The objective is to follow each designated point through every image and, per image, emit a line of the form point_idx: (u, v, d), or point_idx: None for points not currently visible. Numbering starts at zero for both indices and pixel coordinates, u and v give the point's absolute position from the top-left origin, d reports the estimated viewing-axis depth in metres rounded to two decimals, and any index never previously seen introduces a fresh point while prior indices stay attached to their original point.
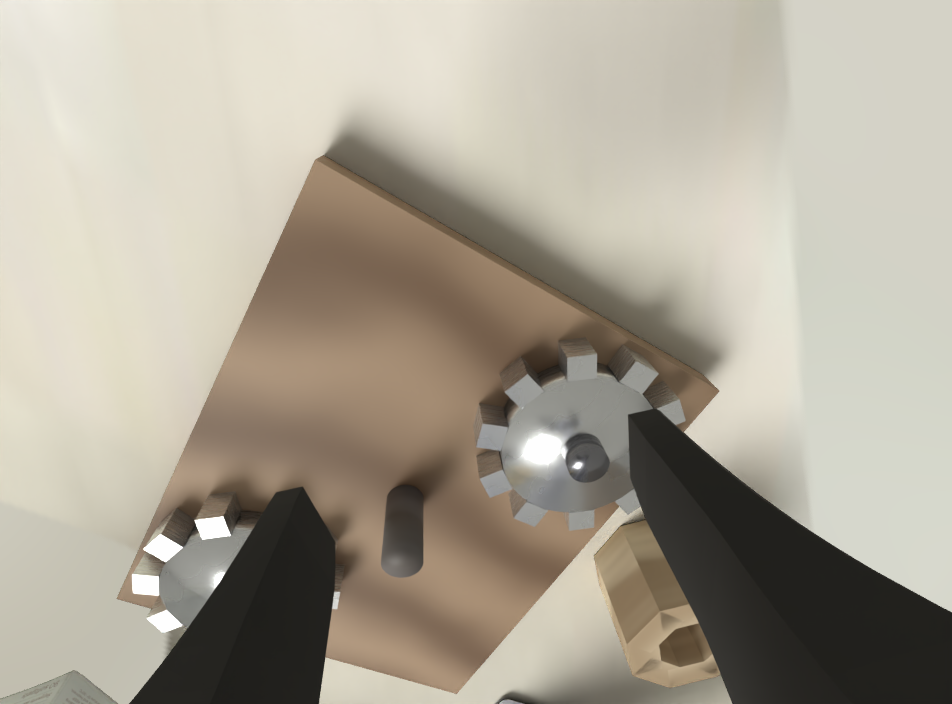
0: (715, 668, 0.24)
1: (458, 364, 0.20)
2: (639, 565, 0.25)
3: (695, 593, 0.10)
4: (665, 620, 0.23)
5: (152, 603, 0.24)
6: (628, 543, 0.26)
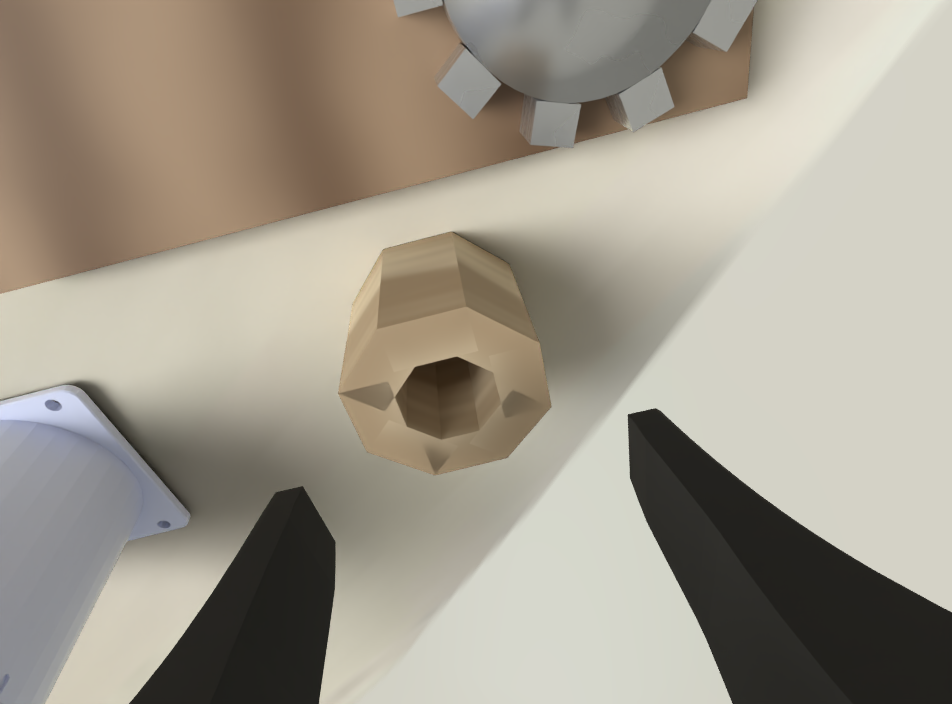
0: (443, 461, 0.16)
1: None
2: (457, 265, 0.15)
3: (695, 593, 0.10)
4: (458, 329, 0.13)
5: None
6: (453, 246, 0.16)
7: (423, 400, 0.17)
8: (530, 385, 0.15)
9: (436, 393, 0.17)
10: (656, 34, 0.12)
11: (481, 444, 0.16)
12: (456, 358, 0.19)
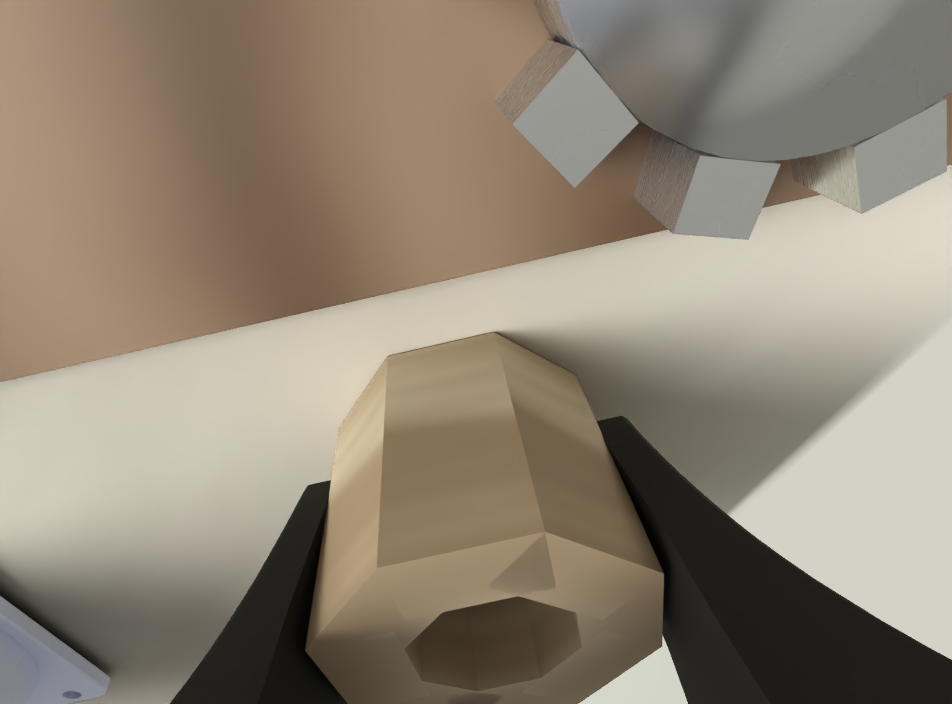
0: None
1: None
2: (514, 411, 0.09)
3: None
4: (525, 562, 0.07)
5: None
6: (501, 364, 0.10)
7: None
8: (634, 624, 0.09)
9: None
10: None
11: (540, 692, 0.10)
12: None
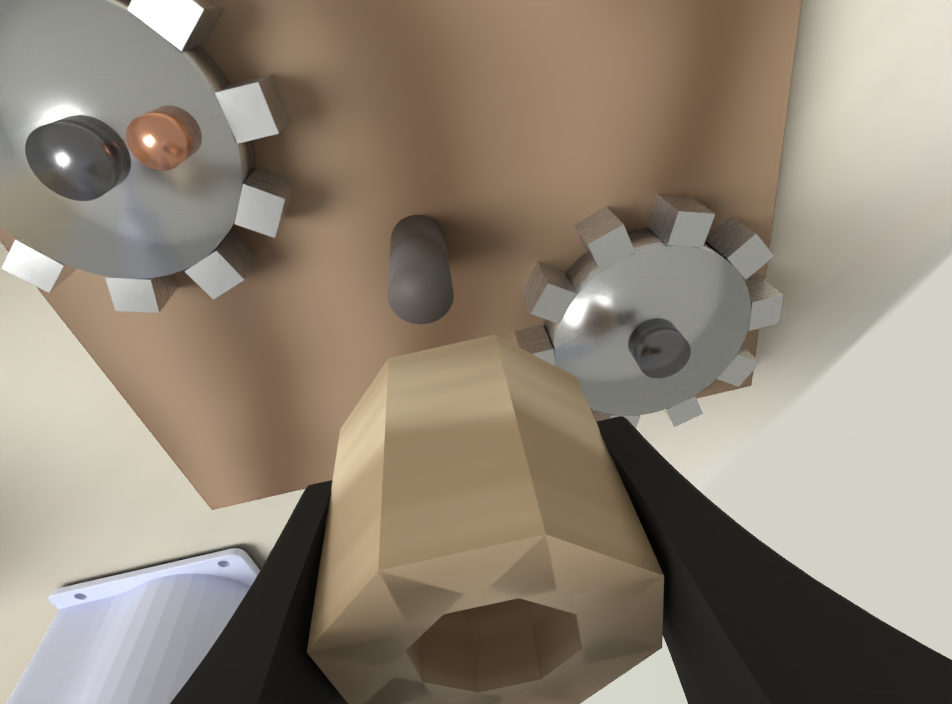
0: None
1: (642, 142, 0.15)
2: (515, 414, 0.09)
3: None
4: (526, 565, 0.07)
5: None
6: (501, 367, 0.10)
7: None
8: (634, 625, 0.09)
9: None
10: (692, 381, 0.18)
11: (541, 693, 0.10)
12: None
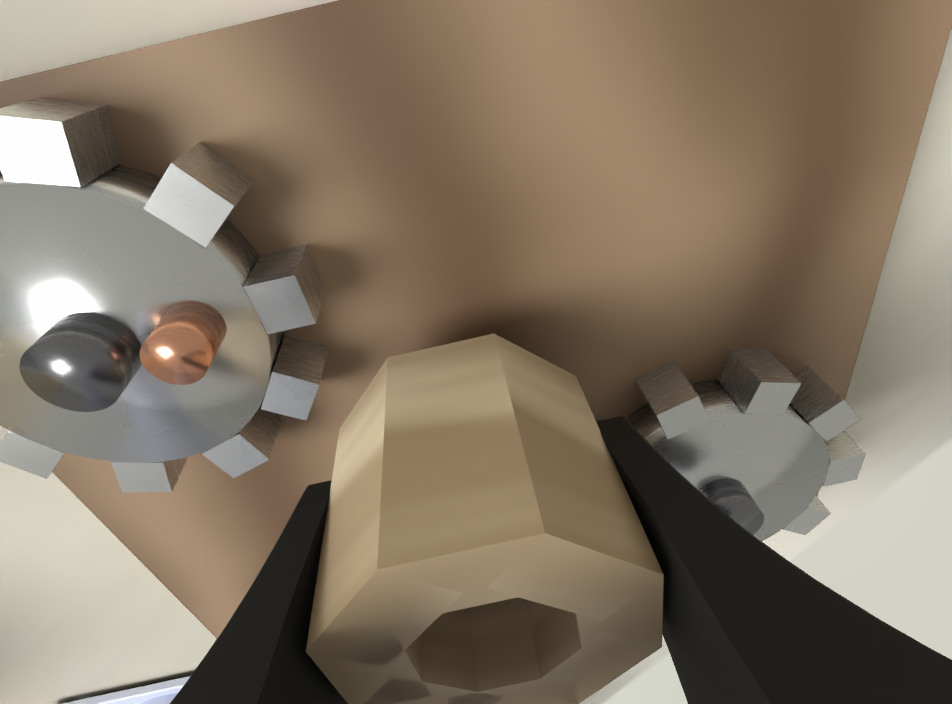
0: None
1: (719, 299, 0.13)
2: (514, 413, 0.09)
3: None
4: (525, 564, 0.07)
5: None
6: (501, 366, 0.10)
7: None
8: (634, 625, 0.09)
9: None
10: (756, 532, 0.16)
11: (541, 692, 0.10)
12: None
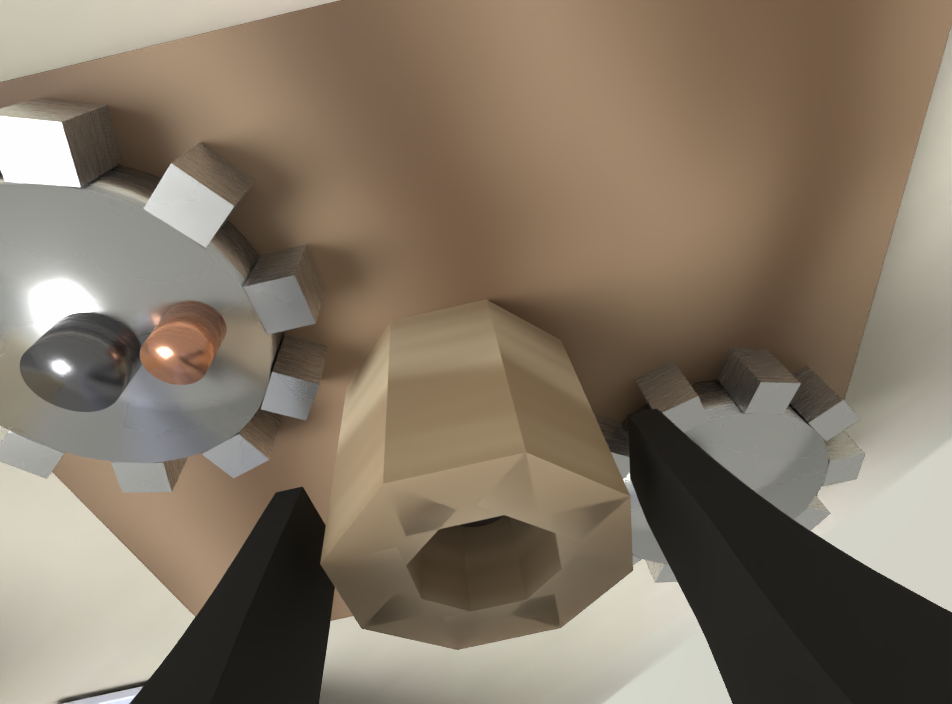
0: (470, 634, 0.11)
1: (719, 299, 0.13)
2: (503, 362, 0.10)
3: (695, 593, 0.10)
4: (510, 482, 0.09)
5: None
6: (492, 325, 0.11)
7: (443, 540, 0.12)
8: (607, 546, 0.10)
9: None
10: None
11: (527, 614, 0.11)
12: None
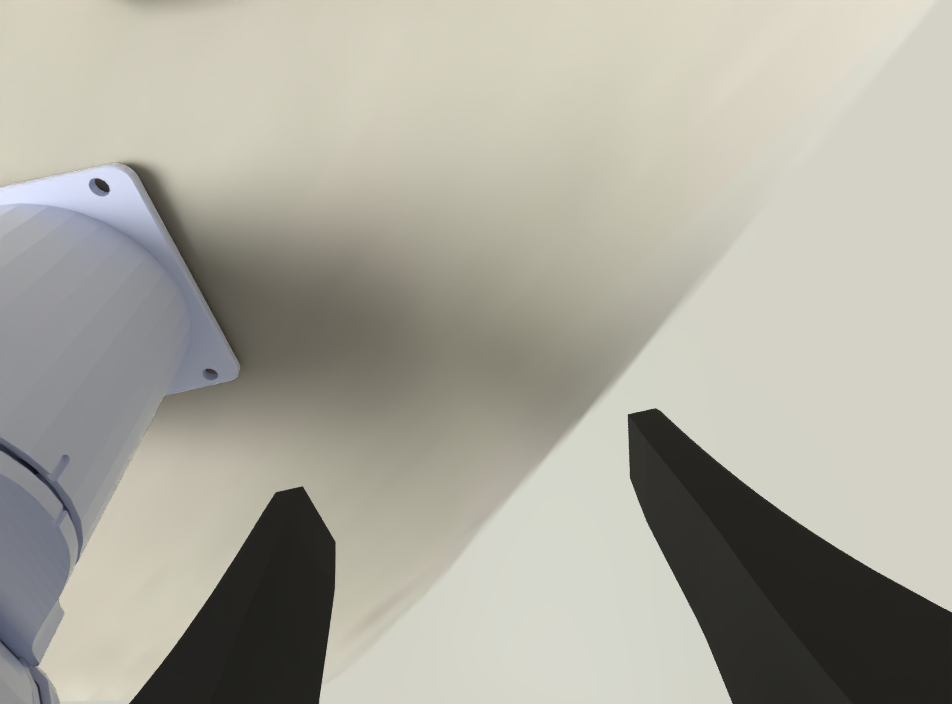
0: None
1: None
2: None
3: (695, 593, 0.10)
4: None
5: None
6: None
7: None
8: None
9: None
10: None
11: None
12: None
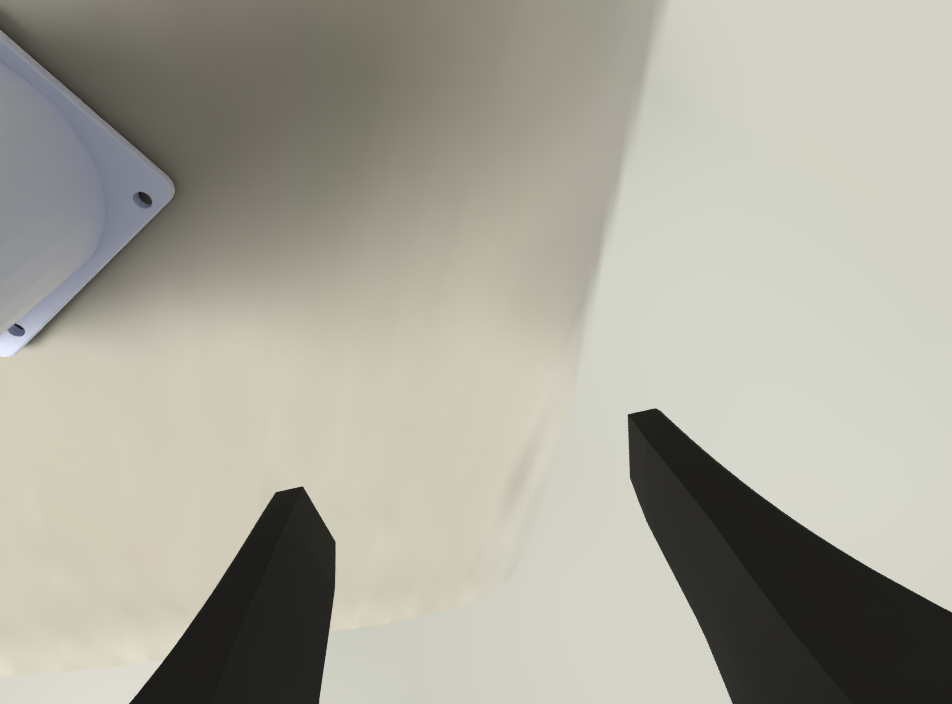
0: None
1: None
2: None
3: (695, 593, 0.10)
4: None
5: None
6: None
7: None
8: None
9: None
10: None
11: None
12: None
